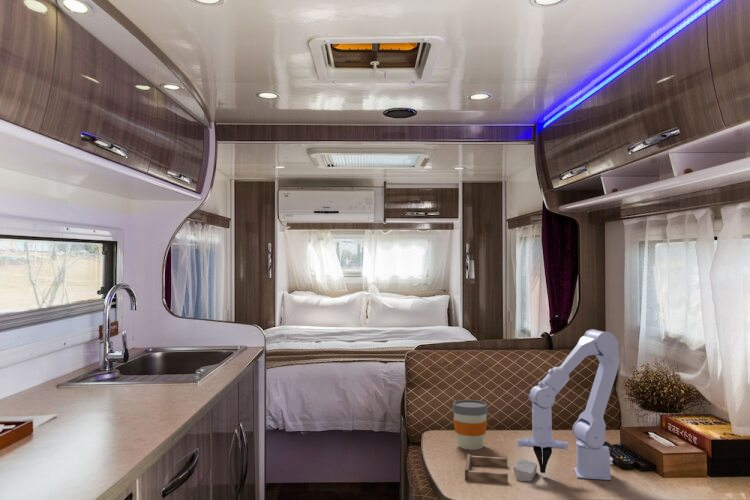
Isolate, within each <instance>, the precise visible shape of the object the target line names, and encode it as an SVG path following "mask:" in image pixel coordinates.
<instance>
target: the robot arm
mask: <svg viewBox="0 0 750 500" xmlns="http://www.w3.org/2000/svg"><path fill="white" fill-rule="evenodd" d="M619 345H620V342H619V341H618V339H617V338H616V336H615V335H614V334H613V333H612V332H609V331H602V330H597V329H593V328H591V329H589V330H586V331H585V333H584V335H583V336H582V335H581V337H580V338H579V340H578V341H577V344H576V345H575V347H574V348H573V349H572V350H571V351H570V352H569V354H568V355H567V357H566V358H565V359H564V361H562V362H561V364H560V365H559V366H555V367H553V368H549V369H548V371H547V375H545V377H544V378H543V379H542V380H541V381H538V382H537V384H538V385H535V386H533V387H532V388H531V389H530V391H529V393H528V399H529V400H530V402H531V408H532V409H531V423H532V424H531V426H532V429H531V430H532V432H531V433H532V437H531V438H517V448H522V447H525V448H526V447H527V448H533V452H534V454H535V456H536V460H537V463H538V465H539V472H540V473H541V474H546V469H547V465H548V462H549V460H550V458H551V457H552V453H553V450H555V449H558V450H564V451H568V449H569V446H568V445H569V444H568V441H562V440H557V439H555V440H554V439H553V428H552V427H553V425H552V422H553V420H552V406H553V405H554V404H555V402H556V396H557V395H558V394H559V392H560V391H561V390H562V389H563V388H564V387H565V385H566V384H567V383H568V382H569V381H570V374H571V373H572V371H573V370H575V369H576V368H577V366H579V364H580V363H581V362H582V361H583V360H584V359H585V358H586V357H589V356H593V355H594V356H595V357H596V359H597V361H598V362H599V363H598V366H597V369H596V370H597V371H596V374H595V377H594V380H593V383H592V387H591V390H590V393H589V396H588V399H587V403H586V406H585V409H584V411H582V412H581V413H580V414H579V415H578V419H577V420H576V421H575V422H574V423H573V426H572V430H571V431H572V434H573V435H574V437H575V439H576V442H575V444H576V447H575V448H576V449H575V450H576V467H574V468H573V471H574V472H575V474H576V477H577V479H578V478H579V479H588V480H590V479H591V480H605V481H611V480H612V477H611V454H610V448H609V446H608V445H607V446H605V445H604V443H605V441H606V429H607V424H606V422H605V419H604V415H605V412H606V409H607V406H608V403H609V400H610V396H611V392H612V389H613V386H614V383H615V379H616V377H617V374H618V370H619V366H620V362H621V359H620V355H619ZM552 449H553V450H552Z"/></svg>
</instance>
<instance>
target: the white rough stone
mask: <svg viewBox="0 0 750 500" xmlns="http://www.w3.org/2000/svg"><path fill="white" fill-rule="evenodd" d="M512 469H513V472H514V476H515V479H516V480H517V481H519V482H531V481H532V480H533V478H535V476H536V473H537V469H538V464H537V463H535V462H534V461H529V460H527V459H525V458H523V457H519V458H518V459H517V460H516V462H515V463H514V465H513V468H512Z"/></svg>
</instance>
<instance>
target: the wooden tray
mask: <svg viewBox="0 0 750 500" xmlns="http://www.w3.org/2000/svg"><path fill="white" fill-rule="evenodd" d="M471 465H472V466H473V465H477V466H488V467H489V466H490V467H502V468H505V467H506V468H507V467H508V458H507V457H499V456H498V457H497V456H483V455H472V454H471V453H467V455H466V462H465V466H464V480H465V481H477V482H490V483H503V484H504V483H506V484H508V483H509V478H508V477H509V476H508V475H509V473H508V472H498V471H495V472H494V471H482V470H480V471H479V470H470V469H471Z"/></svg>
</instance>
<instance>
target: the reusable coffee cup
mask: <svg viewBox="0 0 750 500" xmlns="http://www.w3.org/2000/svg"><path fill="white" fill-rule="evenodd" d="M452 412H453V419H452V420H453V425H454V433H456V440H457V447H459V448H460V447H461V448H460V449H463V448H464V449H463V450H471V451H473V450H476V451H477V450H480V449H482V448H484V443H485V434H486V433H487V427H488V426H487V424H488V419H487V416H488V413H489V410H488V404H487V403H486V402H485V401H482V400H477V399H476V400H474V399H462V400H455V401H453V403H452Z"/></svg>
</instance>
